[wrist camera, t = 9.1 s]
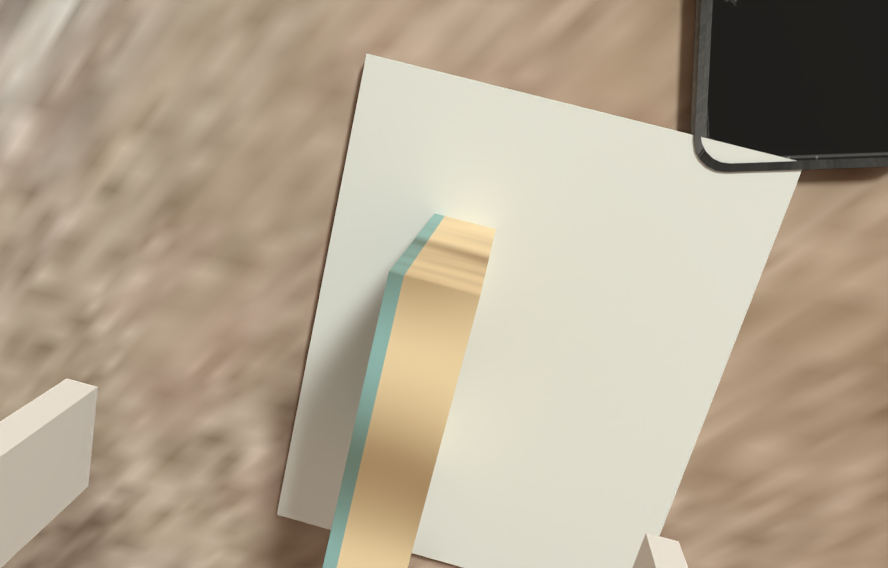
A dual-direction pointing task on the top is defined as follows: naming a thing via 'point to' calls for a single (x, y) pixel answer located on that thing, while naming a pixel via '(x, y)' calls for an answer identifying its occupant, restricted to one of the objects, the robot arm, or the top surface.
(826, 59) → the phone
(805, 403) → the top surface
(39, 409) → the robot arm
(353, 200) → the mat
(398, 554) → the tile
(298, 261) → the top surface
